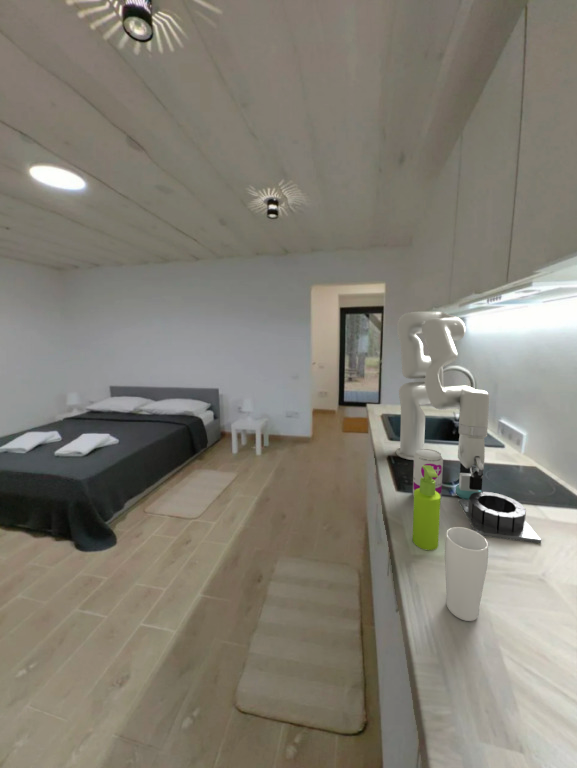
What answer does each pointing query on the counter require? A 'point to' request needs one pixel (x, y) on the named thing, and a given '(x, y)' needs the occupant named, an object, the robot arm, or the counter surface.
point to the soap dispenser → (426, 512)
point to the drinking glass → (465, 571)
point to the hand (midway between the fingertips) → (470, 481)
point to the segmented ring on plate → (498, 517)
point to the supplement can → (432, 460)
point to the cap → (464, 487)
